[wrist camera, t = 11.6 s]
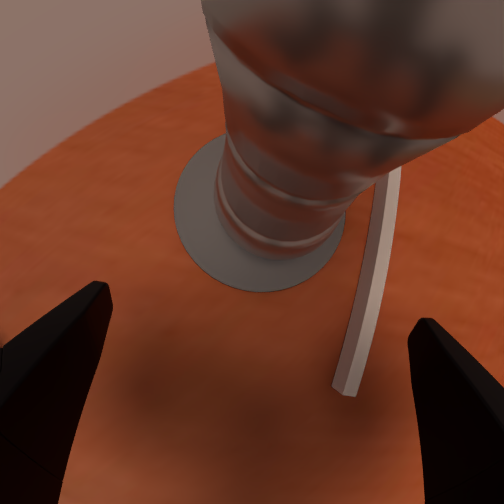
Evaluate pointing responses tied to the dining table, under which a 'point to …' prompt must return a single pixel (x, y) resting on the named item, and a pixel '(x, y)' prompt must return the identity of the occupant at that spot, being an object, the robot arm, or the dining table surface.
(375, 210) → the frosted wall
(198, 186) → the slate mat
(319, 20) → the plastic bottle
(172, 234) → the dining table surface
